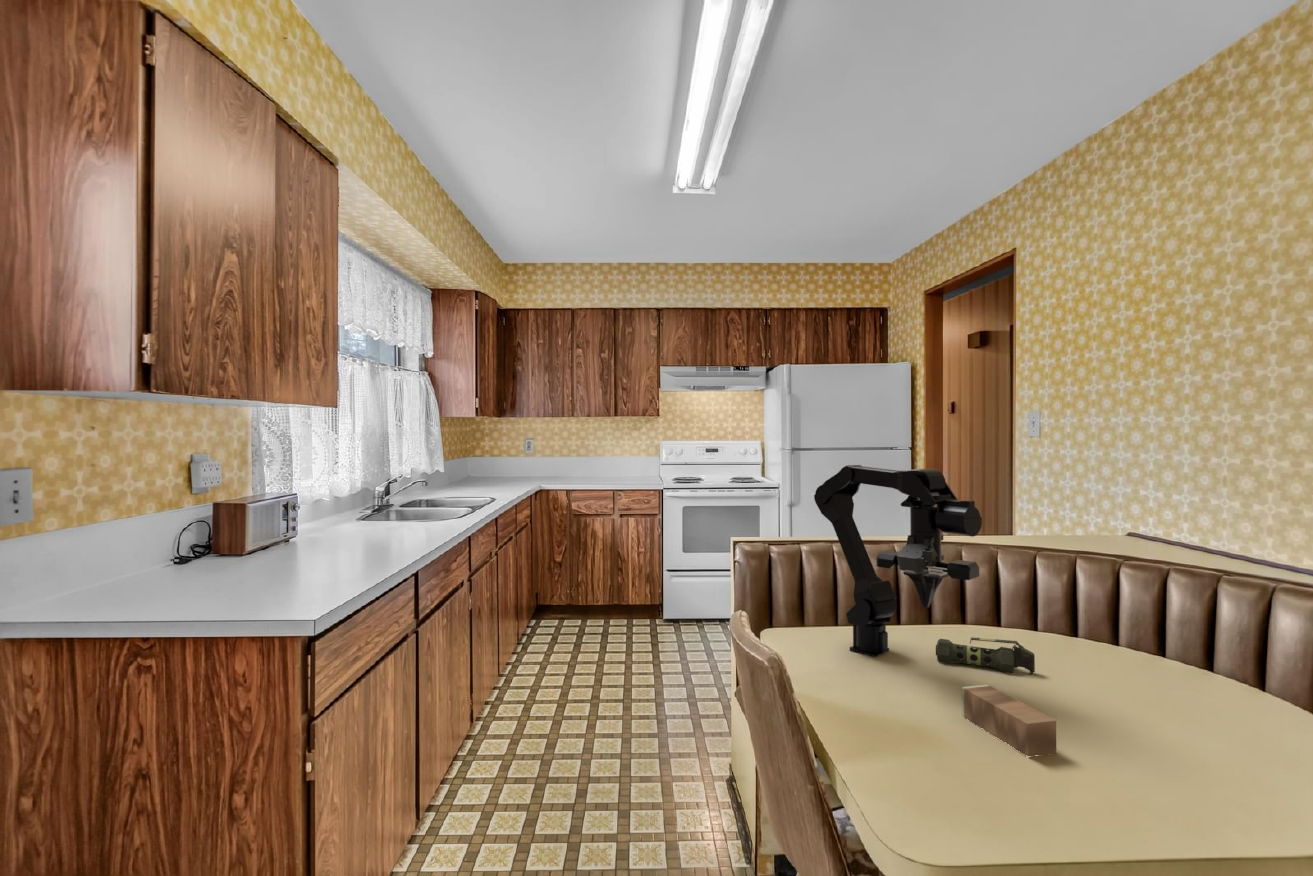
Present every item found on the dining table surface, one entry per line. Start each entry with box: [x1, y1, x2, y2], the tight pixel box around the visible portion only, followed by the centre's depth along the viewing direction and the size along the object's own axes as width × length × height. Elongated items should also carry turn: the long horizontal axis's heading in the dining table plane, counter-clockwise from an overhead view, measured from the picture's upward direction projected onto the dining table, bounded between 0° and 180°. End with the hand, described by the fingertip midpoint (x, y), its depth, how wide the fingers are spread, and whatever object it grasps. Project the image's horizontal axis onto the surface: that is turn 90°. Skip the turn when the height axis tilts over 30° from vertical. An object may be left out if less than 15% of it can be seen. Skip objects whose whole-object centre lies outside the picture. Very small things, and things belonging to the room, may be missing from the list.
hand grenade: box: [935, 636, 1036, 675], centre depth 127 cm, size 6×5×18 cm
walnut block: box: [961, 684, 1057, 756], centre depth 98 cm, size 5×5×14 cm
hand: (926, 607), depth 125 cm, fingers closed
